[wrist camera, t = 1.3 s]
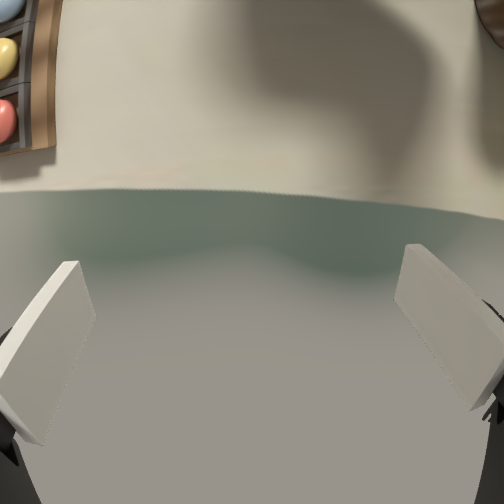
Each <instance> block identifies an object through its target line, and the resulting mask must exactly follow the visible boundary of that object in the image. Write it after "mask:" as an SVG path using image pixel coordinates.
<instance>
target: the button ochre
mask: <svg viewBox="0 0 504 504" xmlns="http://www.w3.org/2000/svg"><path fill="white" fill-rule="evenodd" d="M18 58H19V46H18V44H17V42H16V41H15V40H12V39H7V38H0V80H3V79H5V78H6V77H8V76H9V75H10V74H11V73H12V71H13V70H14V68H15V66H16V64H17V62H18Z"/></svg>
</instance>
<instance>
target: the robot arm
mask: <svg viewBox="0 0 504 504" xmlns="http://www.w3.org/2000/svg"><path fill="white" fill-rule="evenodd" d="M394 301H395V303H396V304H397V305H398V306H399V308H400V309H401V311H402V312H403V313H404V315H405V316H406V318H407V319H408V320H409V322H410V323H411V324H412V326H413V327H414V329H415V330H416V331H417V333H418V334H419V336H420V337H421V339H422V340H423V341H424V343H425V344H426V346H427V347H428V349H429V350H430V352H431V353H432V355H433V356H434V358H435V359H436V360H437V362H438V363H439V365H440V366H441V368H442V370H443V371H444V373H445V374H446V376H447V377H448V378H449V380H450V382H451V383H452V385H453V386H454V388H455V390H456V391H457V393H458V394H459V396H460V398H461V399H462V401H463V402H464V404H465V406H466V407H467V409H468V411H471V410H473V409H476V408H478V407H480V406H482V405H484V404H485V403H486V401H487V400H488V399H489V397H490V396H491V394H492V393H494V395H495V396H496V399H495V401H494V402H493V403H492V405H491V406H490V408H489V409H488V410H487V412H486V413H485V414H484V416H483V418H482V420H485V419H486V418H487V417H488V415H489V414H490V413H491V418H490V419H489V420H488V422H490V430H489V437H488V443H487V449H486V455H485V460H484V466H483V470H482V475H481V479H480V483H479V487H478V492H477V495H476V499H475V503H474V504H504V318H503V317H502V316H501V315H498V314H499V313H498V312H497V311H496V310H495V309H494V308H493V307H492V306H491V305H490V304H488V303H486V302H485V301H484V300H482V299H480V298H479V297H478V296H477V295H476V294H475V293H474V292H473V291H472V290H471V289H470V288H469V287H468V286H467V285H466V284H465V283H464V282H463V281H462V280H461V279H460V278H459V277H457V276H456V275H455V274H454V273H453V272H452V271H451V270H450V269H449V268H447V266H445V265H444V264H443V263H442V262H441V261H440V260H439V259H438V258H436V257H435V256H434V255H433V254H432V253H431V252H430V251H429V250H427V249H426V248H425V247H424V246H422V245H421V244H406V247H405V252H404V256H403V261H402V266H401V270H400V275H399V279H398V283H397V287H396V291H395V296H394ZM95 319H96V315H95V312H94V309H93V306H92V303H91V300H90V297H89V294H88V290H87V287H86V284H85V280H84V277H83V273H82V270H81V267H80V263H79V261H70V262H69V261H68V262H63V263H62V264H61V265H60V267H59V268H58V269H57V270H56V271H55V273H54V274H53V275H52V276H51V277H50V279H49V280H48V281H47V283H46V284H45V285H44V286H43V288H42V289H41V290H40V291H39V293H38V294H37V295H36V297H35V298H34V299H33V300H32V302H31V303H30V304H29V306H28V307H27V309H26V310H25V311H24V313H23V314H22V315H21V317H20V318H19V320H18V321H17V322H16V324H15V325H14V327H12V328H10V329H9V330H8V331H7V332H6V333H4V334H3V335H2V336H1V338H0V504H41V502H40V499H39V497H38V495H37V493H36V491H35V488H34V486H33V484H32V481H31V479H30V476H29V474H28V471H27V469H26V466H25V463H24V461H23V458H22V455H21V452H20V450H19V446H18V444H17V442H16V441H15V439H14V438H13V436H14V434H15V431H17V433H18V434H19V435H20V436H21V437H22V438H23V439H24V440H25V441H26V442H30V443H33V444H37V445H40V446H44V443H45V440H46V437H47V434H48V431H49V428H50V426H51V423H52V420H53V417H54V415H55V412H56V409H57V406H58V404H59V401H60V399H61V396H62V394H63V391H64V389H65V386H66V384H67V381H68V379H69V377H70V374H71V371H72V369H73V367H74V364H75V362H76V360H77V358H78V356H79V353H80V351H81V349H82V347H83V344H84V342H85V340H86V338H87V336H88V334H89V331H90V329H91V327H92V325H93V323H94V321H95Z"/></svg>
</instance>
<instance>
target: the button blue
mask: <svg viewBox="0 0 504 504" xmlns="http://www.w3.org/2000/svg"><path fill="white" fill-rule="evenodd" d="M25 2H26V0H0V23H6V22H9V21H10V20H12V19H13V18H15V17H16V16H17V15H18V14H19V12H20V11H21V10H22V8H23V6H24V5H25Z"/></svg>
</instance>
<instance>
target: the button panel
mask: <svg viewBox="0 0 504 504" xmlns="http://www.w3.org/2000/svg"><path fill="white" fill-rule="evenodd" d="M62 2H63V0H26V2H25V5H24V6H23V8H22V10H21V11H20V12H19V14H18V15H17V16H16V17H15V18H13V19H12V20H10V21H9V22H6V23H0V38H7V39H12V40H15V41H16V42H17V44H18V46H19V58H18V62H17V64H16V66H15V68H14V70H13V71H12V73H11V74H10V75H9V76H8V77H6V78H5V79H3V80H0V100H9V101H11V102H12V103H13V104H14V105H15V107H16V110H17V126H16V129H15V131H14V133H13V135H12V136H11V137H10V138H9V139H8V140H7V141H5V142H1V143H0V156H4V155H9V154H14V153H19V152H24V151H29V150H35V149H41V148H47V147H51V146H54V145H56V127H55V73H56V54H57V42H58V32H59V23H60V15H61V8H62Z"/></svg>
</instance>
